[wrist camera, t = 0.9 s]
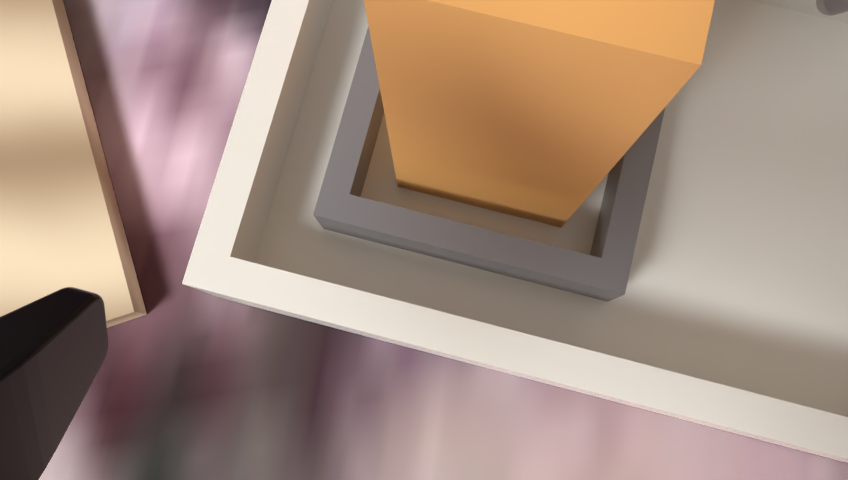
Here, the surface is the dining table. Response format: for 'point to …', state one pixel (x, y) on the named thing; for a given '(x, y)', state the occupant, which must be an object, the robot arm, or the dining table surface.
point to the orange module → (526, 92)
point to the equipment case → (569, 229)
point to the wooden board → (55, 172)
